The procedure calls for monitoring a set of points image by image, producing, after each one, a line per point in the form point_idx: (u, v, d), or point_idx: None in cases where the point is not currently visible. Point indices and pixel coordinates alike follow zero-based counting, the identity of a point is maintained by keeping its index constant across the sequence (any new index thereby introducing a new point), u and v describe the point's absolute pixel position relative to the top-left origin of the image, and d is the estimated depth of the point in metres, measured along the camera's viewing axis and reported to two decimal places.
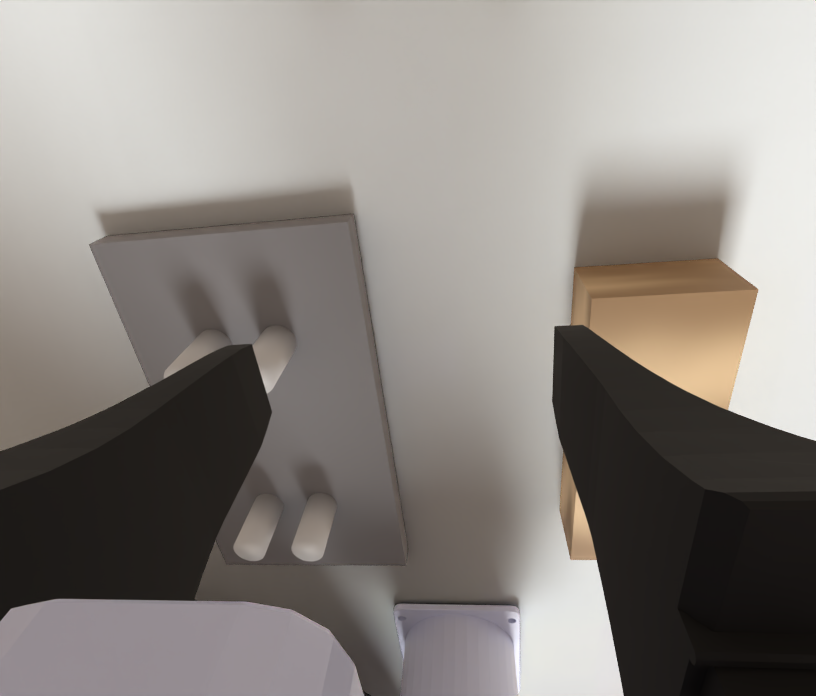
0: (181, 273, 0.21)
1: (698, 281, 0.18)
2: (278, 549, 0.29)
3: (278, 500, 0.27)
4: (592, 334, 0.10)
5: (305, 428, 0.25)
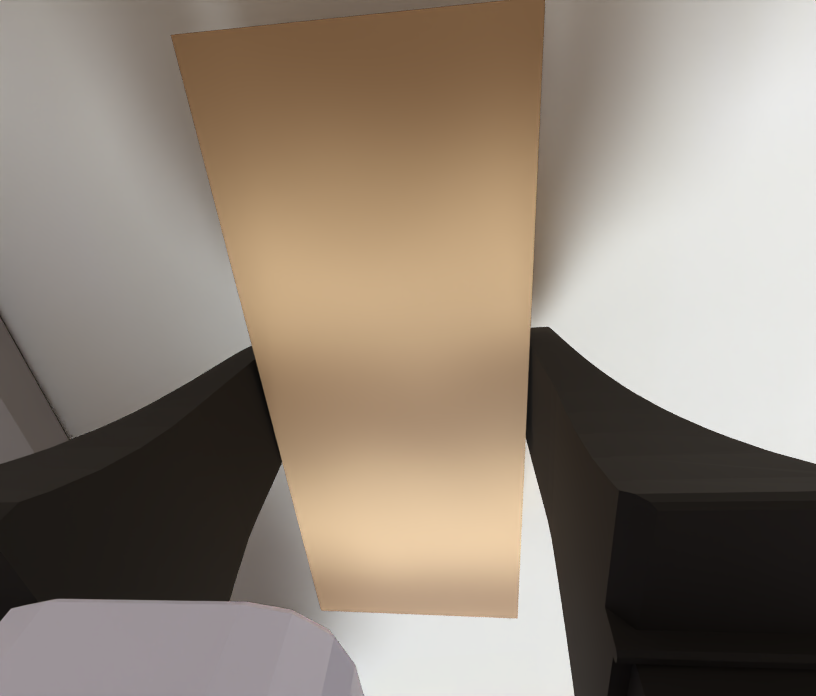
0: None
1: None
2: None
3: None
4: (555, 337, 0.10)
5: None
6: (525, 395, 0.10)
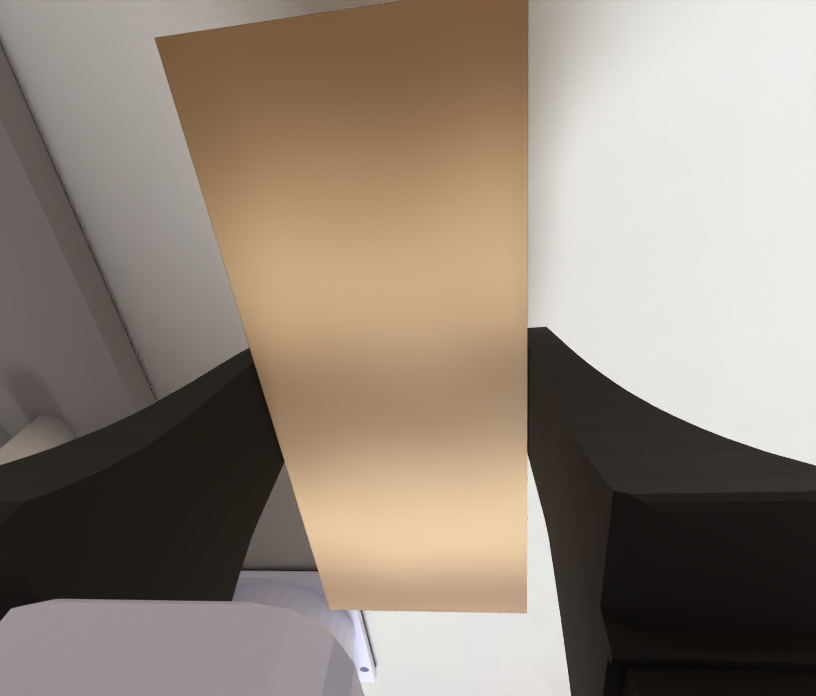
0: None
1: None
2: None
3: None
4: (552, 337, 0.10)
5: None
6: (525, 388, 0.10)
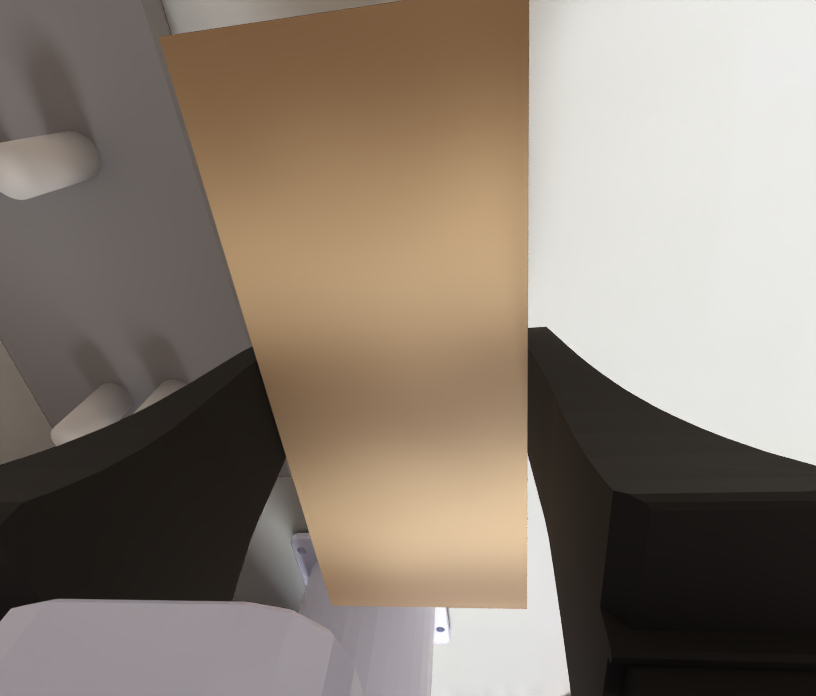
0: None
1: None
2: None
3: (123, 390, 0.22)
4: (552, 337, 0.10)
5: (136, 286, 0.20)
6: (525, 385, 0.10)
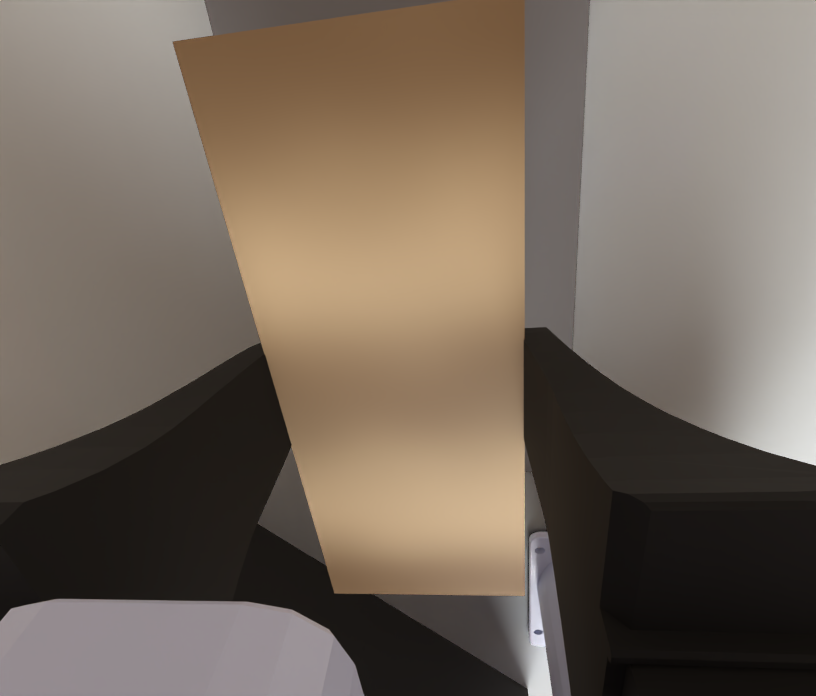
0: None
1: None
2: None
3: None
4: (552, 337, 0.10)
5: None
6: (522, 376, 0.10)
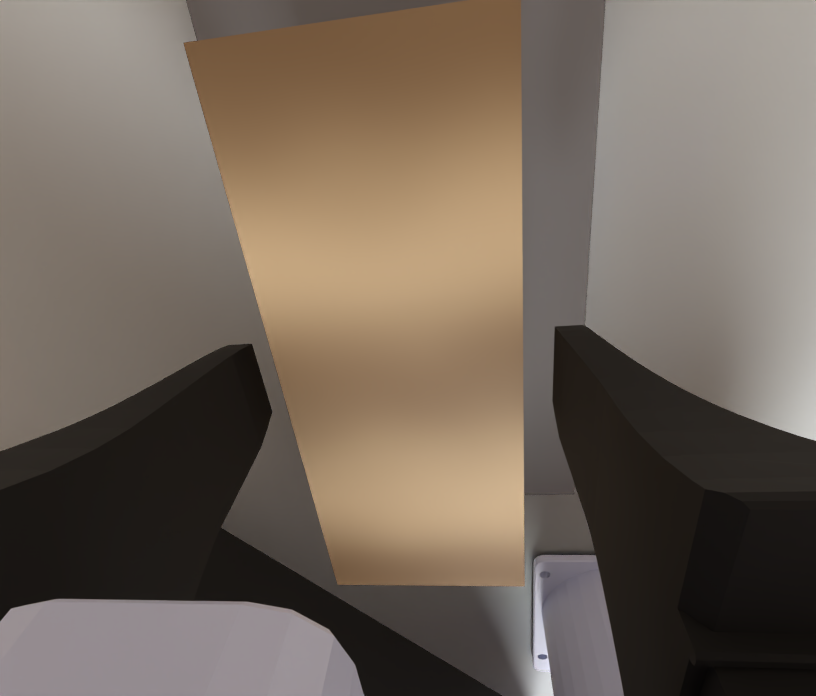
0: None
1: None
2: None
3: None
4: (593, 334, 0.10)
5: None
6: (521, 366, 0.11)
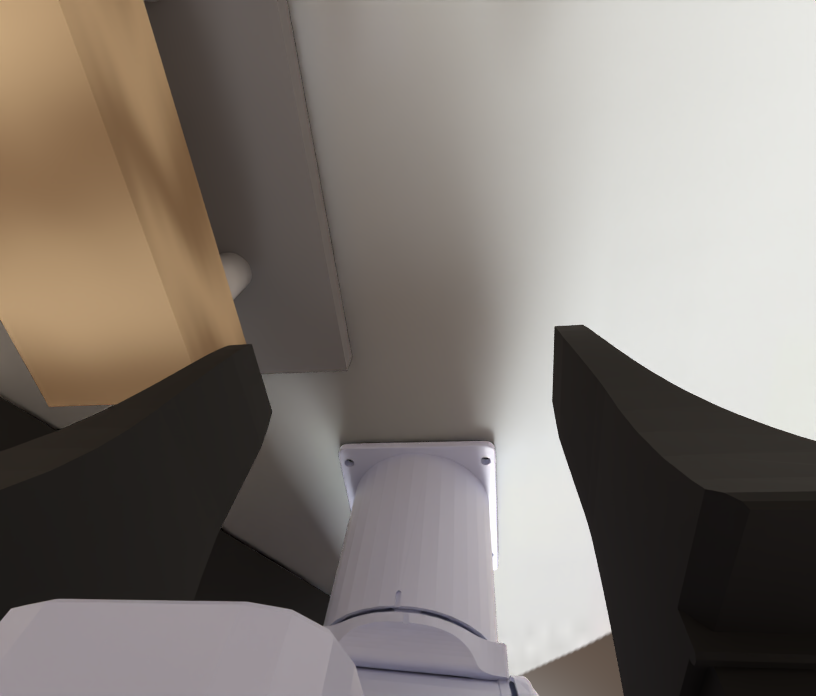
0: None
1: None
2: None
3: None
4: (592, 334, 0.10)
5: (198, 136, 0.18)
6: (112, 153, 0.12)
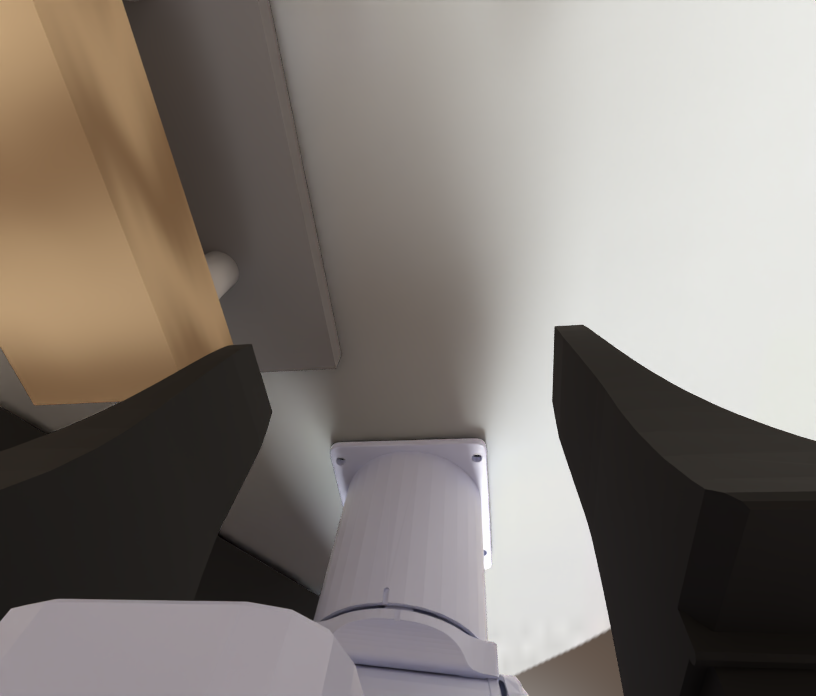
0: None
1: None
2: None
3: None
4: (592, 334, 0.10)
5: (182, 135, 0.18)
6: (89, 150, 0.12)
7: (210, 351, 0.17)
